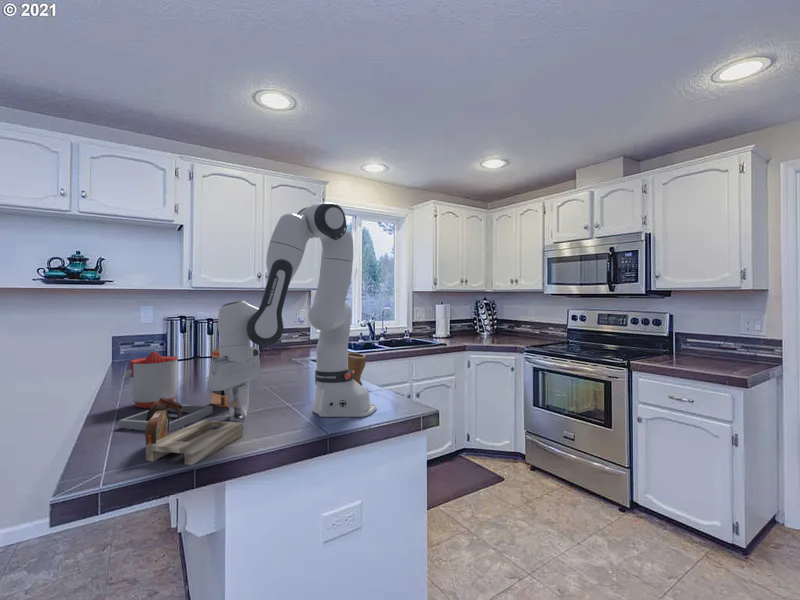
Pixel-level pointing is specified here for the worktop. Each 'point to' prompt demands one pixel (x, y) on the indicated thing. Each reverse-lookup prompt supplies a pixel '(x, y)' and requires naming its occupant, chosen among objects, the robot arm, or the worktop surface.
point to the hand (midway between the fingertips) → (236, 398)
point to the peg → (238, 403)
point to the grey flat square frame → (197, 413)
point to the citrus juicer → (153, 379)
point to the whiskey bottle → (218, 396)
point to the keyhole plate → (196, 441)
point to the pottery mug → (163, 407)
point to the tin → (157, 427)
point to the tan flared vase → (356, 365)
